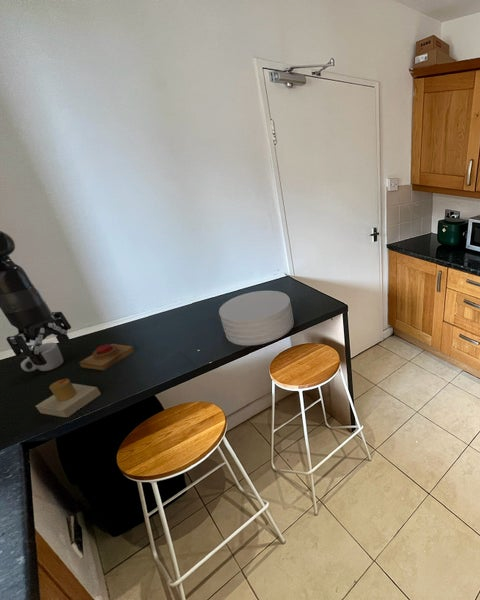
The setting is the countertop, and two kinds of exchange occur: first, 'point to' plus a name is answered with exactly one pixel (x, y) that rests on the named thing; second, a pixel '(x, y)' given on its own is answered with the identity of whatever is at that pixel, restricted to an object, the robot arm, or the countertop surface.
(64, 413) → the panel
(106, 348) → the button
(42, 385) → the countertop surface
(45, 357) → the cup
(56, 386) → the lock knob
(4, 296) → the robot arm
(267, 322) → the plate stack
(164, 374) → the countertop surface
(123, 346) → the button block
